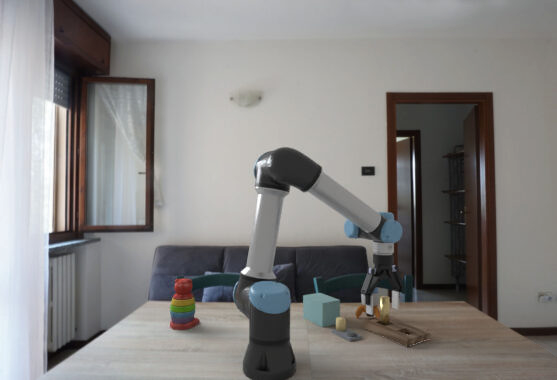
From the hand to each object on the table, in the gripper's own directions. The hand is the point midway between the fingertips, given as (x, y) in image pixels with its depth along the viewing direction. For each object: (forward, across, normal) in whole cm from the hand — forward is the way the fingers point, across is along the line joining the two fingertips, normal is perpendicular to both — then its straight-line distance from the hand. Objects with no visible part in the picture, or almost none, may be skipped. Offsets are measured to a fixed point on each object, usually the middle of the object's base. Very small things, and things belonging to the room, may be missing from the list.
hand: (382, 311), depth 133 cm
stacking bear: (+8, -62, +42) cm, 75 cm away
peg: (+7, +1, 0) cm, 7 cm away
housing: (+7, -13, +20) cm, 25 cm away
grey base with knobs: (+7, -15, +3) cm, 17 cm away
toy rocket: (+7, +5, +13) cm, 15 cm away
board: (+7, +1, -5) cm, 9 cm away
